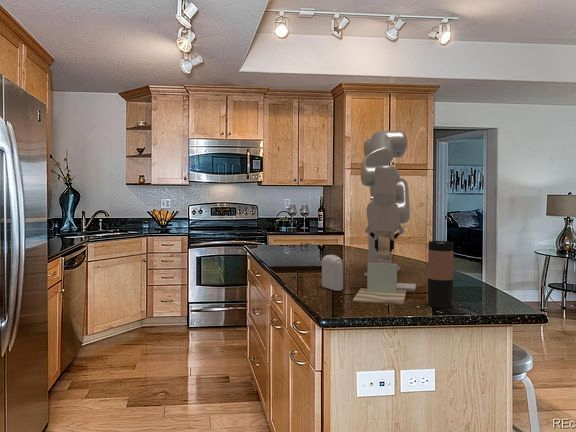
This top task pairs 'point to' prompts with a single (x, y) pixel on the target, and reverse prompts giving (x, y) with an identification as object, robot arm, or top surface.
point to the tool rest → (406, 286)
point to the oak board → (380, 297)
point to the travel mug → (440, 274)
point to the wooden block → (384, 247)
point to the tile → (382, 278)
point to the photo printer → (332, 272)
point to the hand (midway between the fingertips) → (384, 250)
